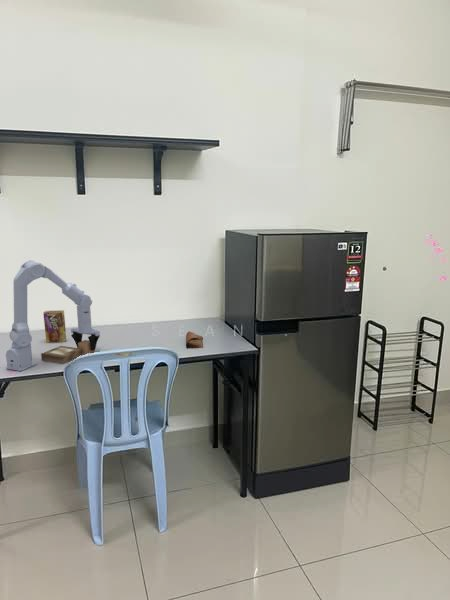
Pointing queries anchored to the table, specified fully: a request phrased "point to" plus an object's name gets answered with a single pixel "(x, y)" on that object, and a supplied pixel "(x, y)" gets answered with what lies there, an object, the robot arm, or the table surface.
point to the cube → (85, 346)
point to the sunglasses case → (193, 340)
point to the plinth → (61, 354)
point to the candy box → (55, 326)
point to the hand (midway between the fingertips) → (86, 349)
